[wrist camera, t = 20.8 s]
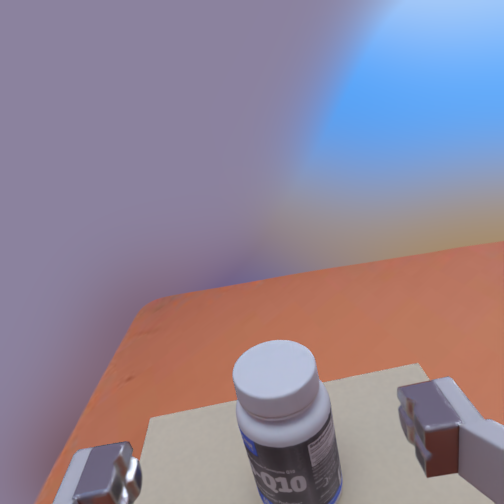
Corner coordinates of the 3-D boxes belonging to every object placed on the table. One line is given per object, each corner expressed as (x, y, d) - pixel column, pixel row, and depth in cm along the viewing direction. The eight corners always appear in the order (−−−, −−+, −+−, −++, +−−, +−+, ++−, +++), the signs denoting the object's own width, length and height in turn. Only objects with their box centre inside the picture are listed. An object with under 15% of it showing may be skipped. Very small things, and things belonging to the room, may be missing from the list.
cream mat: (84, 700, 15) (80, 696, 15) (151, 421, 28) (150, 417, 28) (585, 610, 14) (587, 604, 14) (418, 366, 27) (418, 362, 27)
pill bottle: (242, 501, 21) (202, 384, 17) (285, 434, 24) (259, 326, 21) (321, 547, 18) (291, 419, 15) (357, 465, 21) (340, 345, 18)
